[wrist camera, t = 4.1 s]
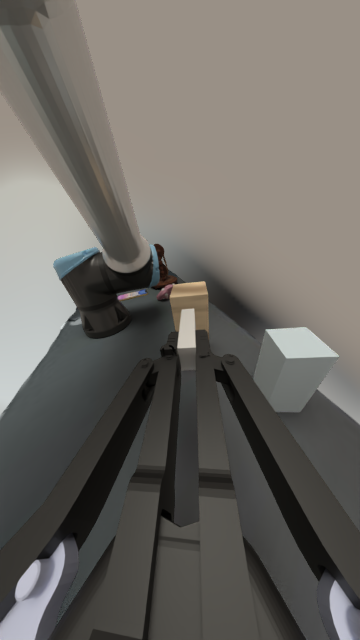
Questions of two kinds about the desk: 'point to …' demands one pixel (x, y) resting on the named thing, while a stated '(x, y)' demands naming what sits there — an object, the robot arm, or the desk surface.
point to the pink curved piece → (165, 292)
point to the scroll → (163, 269)
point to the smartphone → (132, 295)
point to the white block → (292, 367)
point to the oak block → (190, 303)
